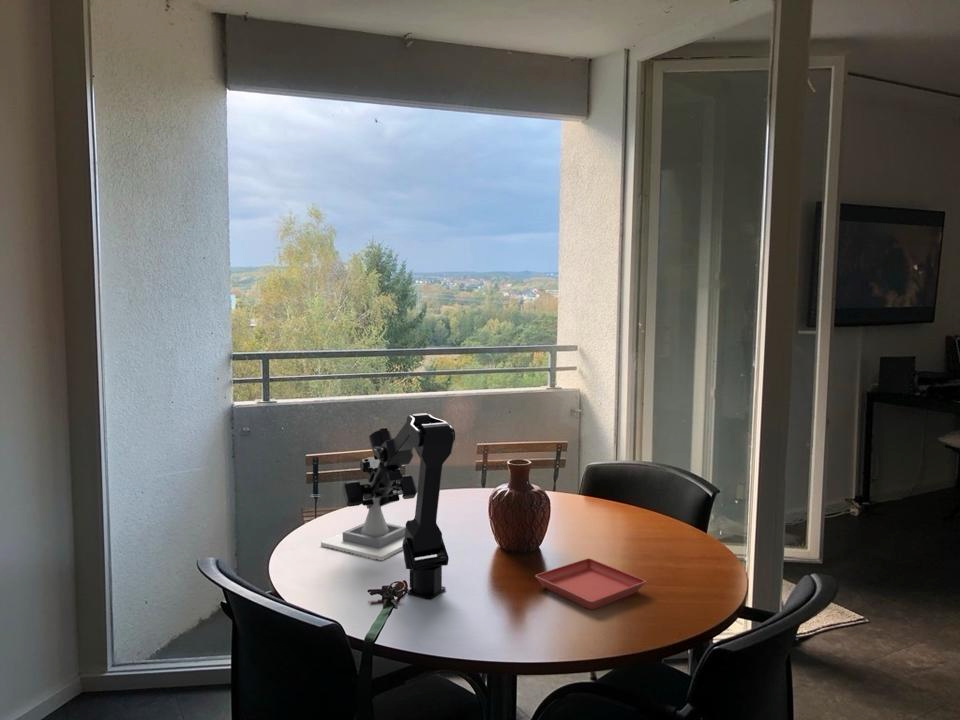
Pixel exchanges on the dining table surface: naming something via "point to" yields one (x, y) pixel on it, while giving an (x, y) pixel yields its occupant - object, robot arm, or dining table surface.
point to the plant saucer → (590, 583)
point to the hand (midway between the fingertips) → (373, 506)
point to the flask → (375, 521)
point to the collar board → (368, 542)
